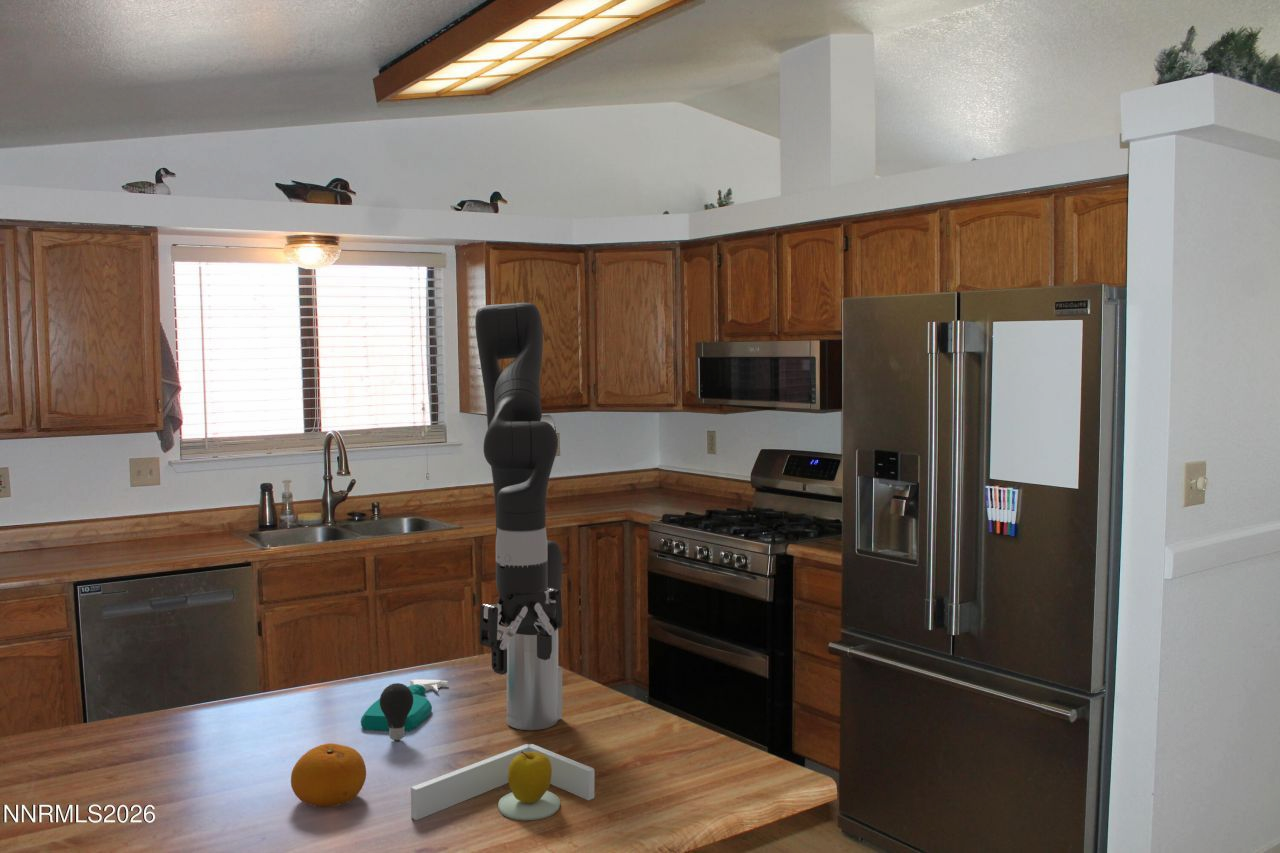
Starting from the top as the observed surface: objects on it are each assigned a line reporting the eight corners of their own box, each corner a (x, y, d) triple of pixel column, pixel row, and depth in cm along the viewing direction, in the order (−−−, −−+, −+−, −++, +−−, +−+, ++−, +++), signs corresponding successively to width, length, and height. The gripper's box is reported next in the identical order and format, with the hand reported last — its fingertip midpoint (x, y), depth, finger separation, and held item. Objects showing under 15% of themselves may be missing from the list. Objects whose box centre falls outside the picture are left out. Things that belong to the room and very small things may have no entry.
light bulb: (405, 748, 171) (404, 690, 170) (374, 745, 172) (373, 688, 171) (419, 736, 177) (418, 680, 176) (388, 733, 178) (388, 677, 177)
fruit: (326, 823, 144) (325, 768, 144) (277, 805, 150) (276, 752, 149) (381, 796, 153) (380, 744, 153) (333, 780, 159) (332, 730, 158)
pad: (531, 787, 157) (531, 783, 156) (572, 805, 151) (572, 801, 150) (485, 806, 150) (485, 802, 150) (526, 826, 144) (526, 822, 144)
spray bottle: (355, 732, 179) (402, 687, 204) (415, 735, 178) (455, 690, 203) (355, 715, 179) (402, 673, 204) (415, 718, 178) (455, 675, 202)
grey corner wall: (529, 770, 163) (529, 742, 163) (594, 797, 153) (594, 768, 153) (411, 817, 146) (410, 787, 146) (475, 852, 137) (475, 819, 136)
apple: (500, 806, 149) (499, 753, 148) (521, 789, 155) (521, 738, 154) (538, 814, 146) (538, 760, 146) (559, 796, 152) (559, 744, 151)
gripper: (539, 546, 156) (540, 649, 158) (466, 561, 146) (468, 672, 147) (574, 553, 151) (574, 659, 153) (501, 570, 141) (502, 684, 142)
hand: (522, 665), depth 150 cm, fingers open, 8 cm apart
